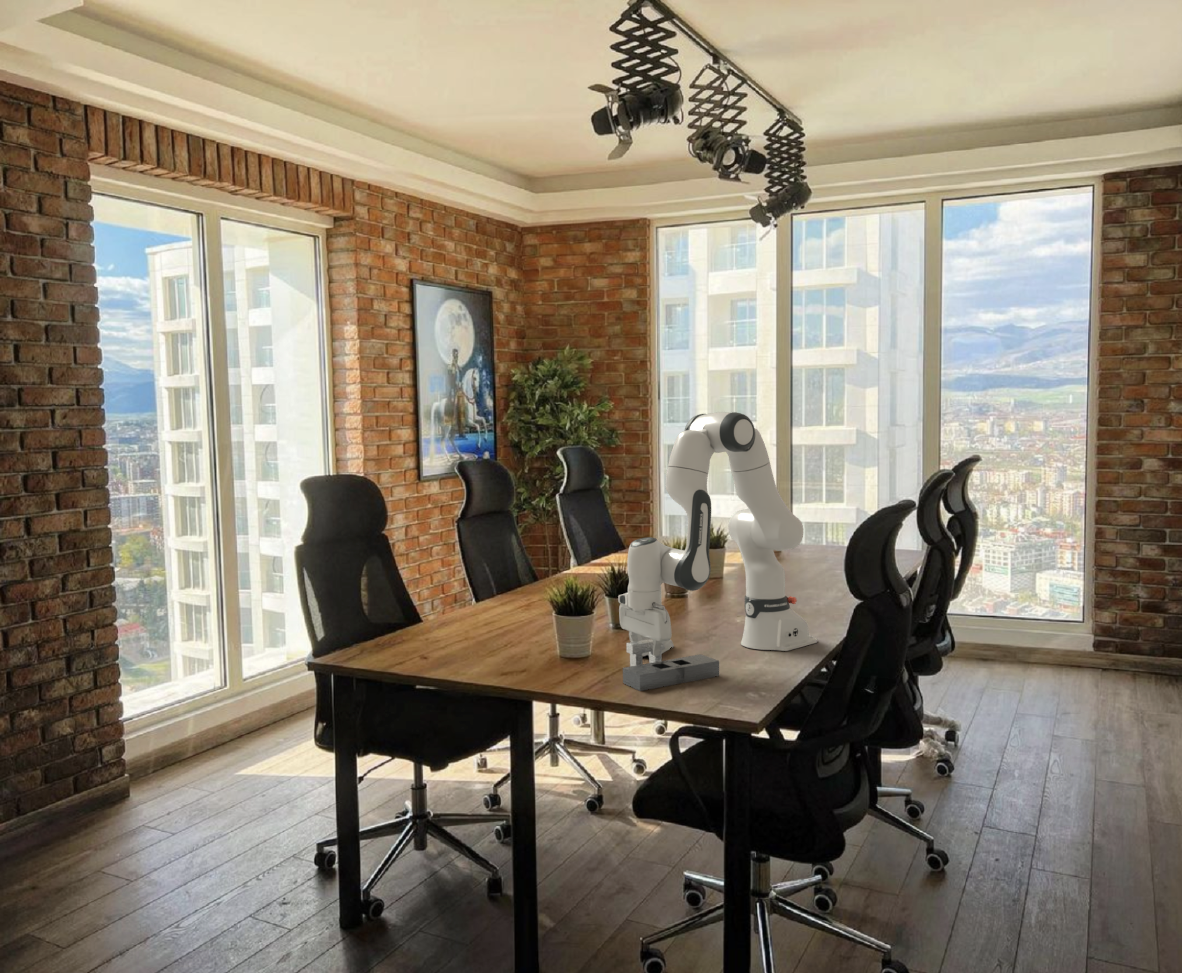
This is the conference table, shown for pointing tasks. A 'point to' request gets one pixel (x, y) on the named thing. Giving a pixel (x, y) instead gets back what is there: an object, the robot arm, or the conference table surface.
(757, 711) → the conference table surface
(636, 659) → the clip
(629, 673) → the rail
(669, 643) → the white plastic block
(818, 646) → the conference table surface
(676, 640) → the conference table surface
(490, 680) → the conference table surface
